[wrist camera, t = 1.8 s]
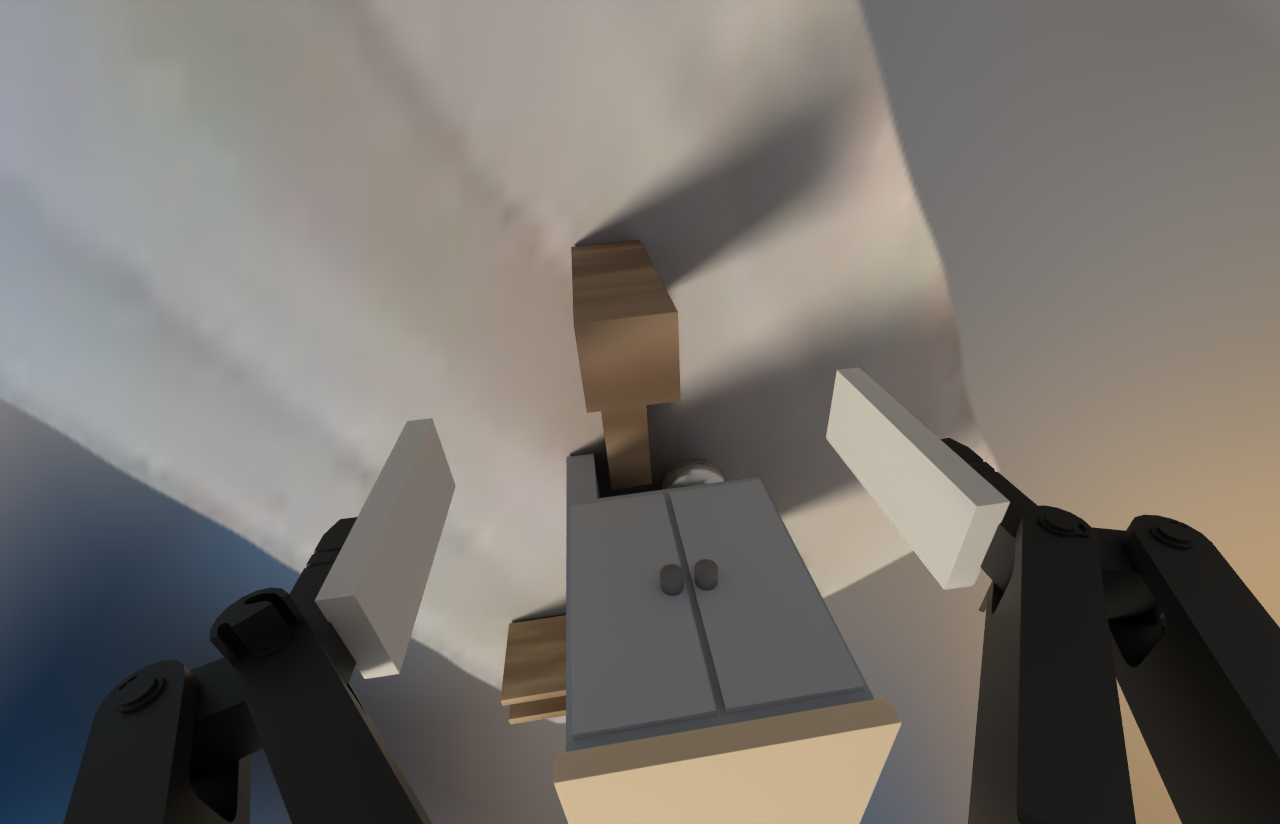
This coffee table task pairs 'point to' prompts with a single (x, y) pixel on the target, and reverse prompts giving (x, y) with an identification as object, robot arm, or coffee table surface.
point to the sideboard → (706, 667)
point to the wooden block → (624, 349)
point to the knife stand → (535, 670)
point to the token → (692, 474)
